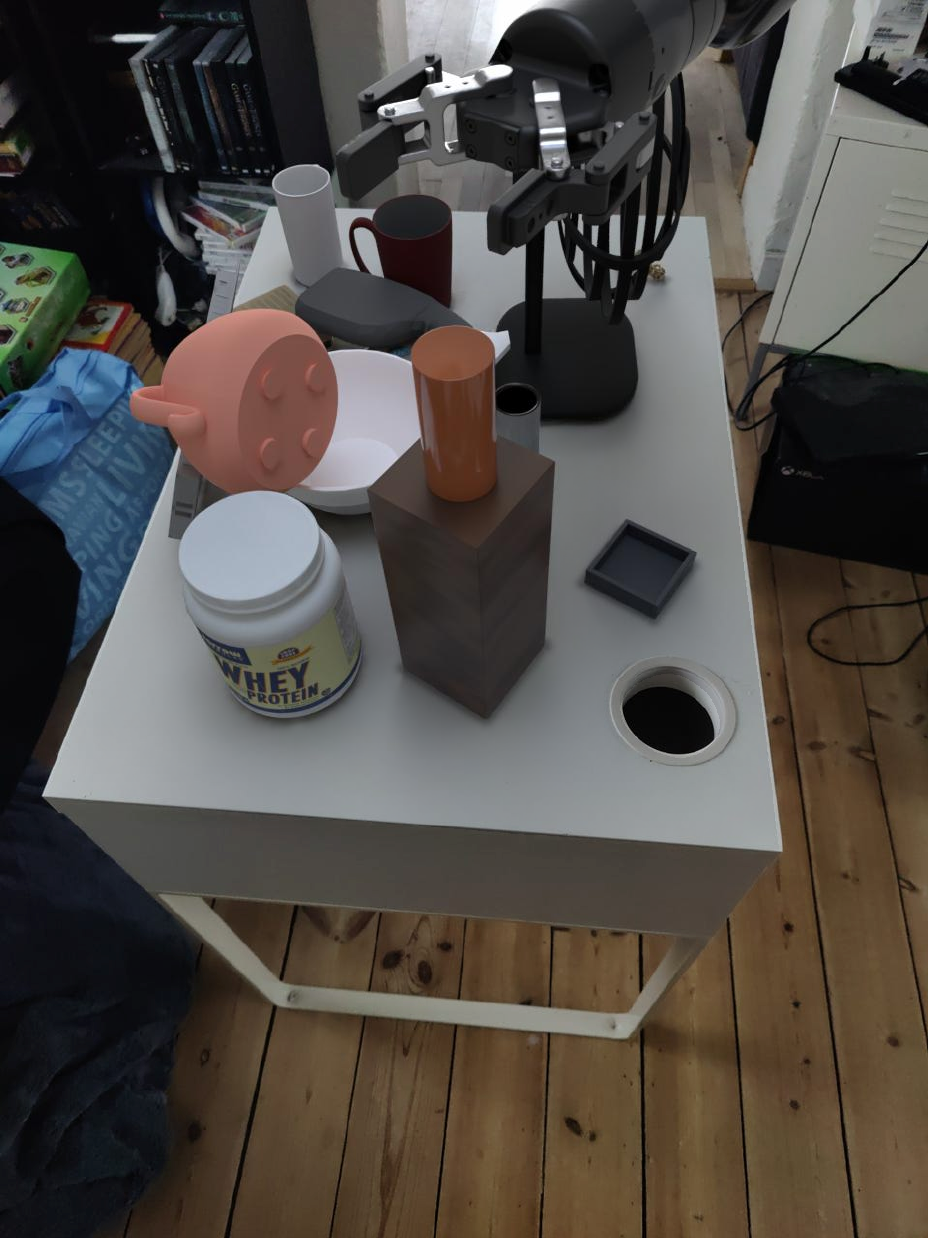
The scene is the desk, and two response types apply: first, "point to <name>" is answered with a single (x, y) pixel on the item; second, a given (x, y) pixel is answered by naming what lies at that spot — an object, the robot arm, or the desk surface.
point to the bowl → (363, 430)
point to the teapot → (247, 400)
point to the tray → (640, 568)
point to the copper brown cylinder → (456, 411)
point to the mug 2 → (412, 243)
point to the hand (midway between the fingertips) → (416, 206)
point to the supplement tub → (271, 603)
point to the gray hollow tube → (519, 414)
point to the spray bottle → (377, 311)
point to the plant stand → (467, 573)
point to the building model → (186, 473)
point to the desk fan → (595, 294)
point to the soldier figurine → (654, 270)
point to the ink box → (281, 307)
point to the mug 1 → (308, 221)
